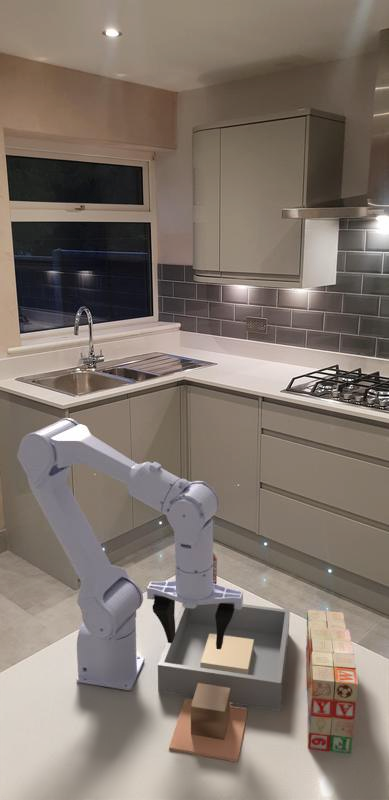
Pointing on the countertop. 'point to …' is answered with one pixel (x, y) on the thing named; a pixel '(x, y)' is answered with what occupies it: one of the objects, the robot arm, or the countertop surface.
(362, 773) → the countertop surface
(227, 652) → the grey crate
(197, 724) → the walnut block
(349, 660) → the stack of blocks
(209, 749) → the terracotta mat
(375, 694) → the countertop surface
